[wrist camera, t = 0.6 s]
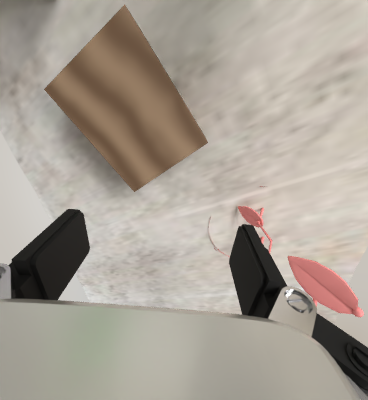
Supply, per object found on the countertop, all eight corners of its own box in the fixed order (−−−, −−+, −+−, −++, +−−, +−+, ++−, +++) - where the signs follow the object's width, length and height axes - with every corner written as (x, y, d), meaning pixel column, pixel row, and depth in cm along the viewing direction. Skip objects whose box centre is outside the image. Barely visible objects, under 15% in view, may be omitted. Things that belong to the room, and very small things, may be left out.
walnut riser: (139, 27, 30) (124, 4, 23) (204, 135, 38) (208, 142, 30) (73, 92, 34) (44, 89, 27) (143, 176, 42) (134, 191, 35)
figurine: (267, 175, 41) (494, 397, 10) (266, 259, 53) (372, 482, 22) (198, 186, 43) (215, 402, 12) (212, 265, 55) (239, 478, 24)
